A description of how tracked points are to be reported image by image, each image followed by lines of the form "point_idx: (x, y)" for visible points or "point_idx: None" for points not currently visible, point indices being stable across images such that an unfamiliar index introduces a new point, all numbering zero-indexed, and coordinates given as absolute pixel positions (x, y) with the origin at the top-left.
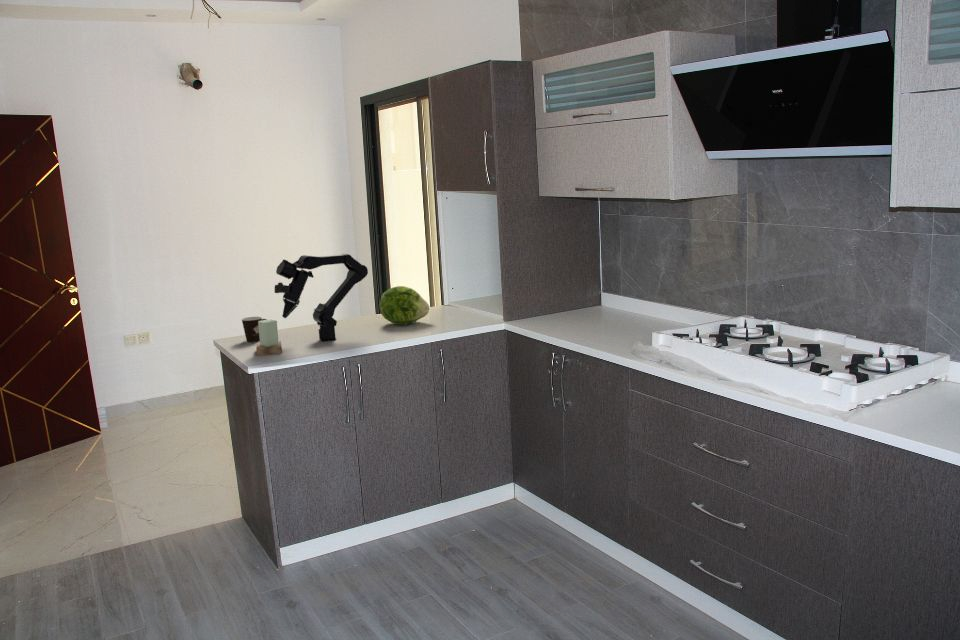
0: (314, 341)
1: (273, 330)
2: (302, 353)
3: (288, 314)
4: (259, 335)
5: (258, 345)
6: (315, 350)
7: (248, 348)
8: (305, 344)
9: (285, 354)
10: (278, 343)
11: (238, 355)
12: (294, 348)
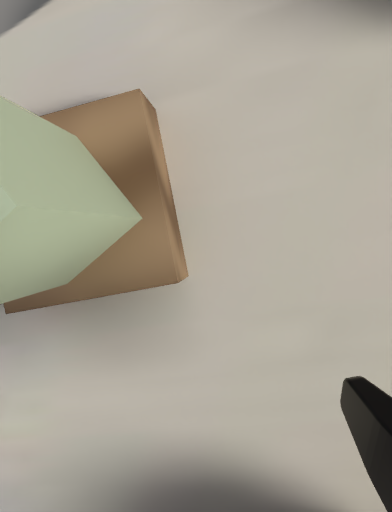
0: (349, 494)
1: None
2: (4, 430)
3: (381, 497)
4: (28, 112)
5: (69, 124)
6: (62, 505)
7: (251, 16)
8: (262, 434)
9: (2, 328)
10: (62, 283)
11: (46, 10)
12: (154, 367)
